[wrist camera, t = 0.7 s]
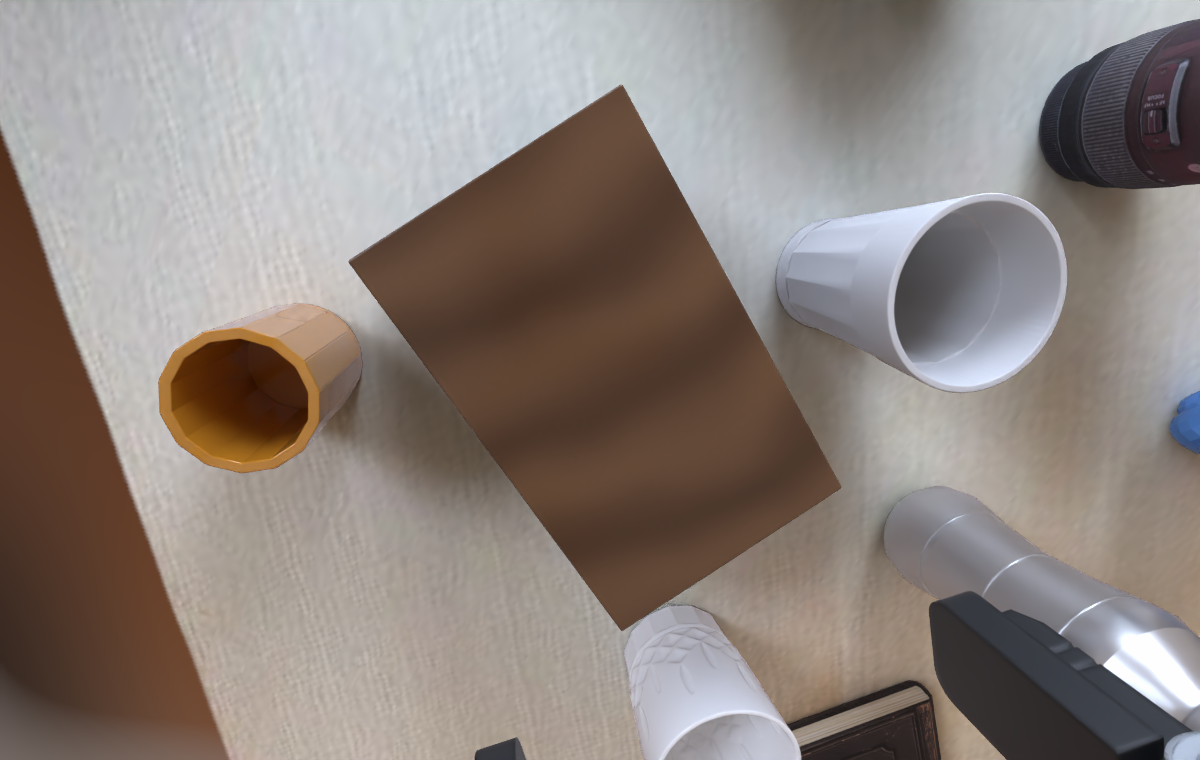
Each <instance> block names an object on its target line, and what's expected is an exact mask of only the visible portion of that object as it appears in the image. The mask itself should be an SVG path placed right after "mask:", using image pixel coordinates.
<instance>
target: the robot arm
mask: <svg viewBox="0 0 1200 760" xmlns="http://www.w3.org/2000/svg"><path fill="white" fill-rule="evenodd" d="M929 617H930V627H931V637H932V647H933V656H934V666H935V671H936V674H937V677H938V680H939V682H940V684H941V686H942V688H943V690H944V692H945V693H946V695H947V696H948V698H949V699H950V700H951V702H952V703H953V704H954V705H955V706H956V707H957V708H958V709H959V710H960V711H961V712H962V713H963V714H964V715H965V717H966V718H967V719H968V720H969V721H970V722H971V723H972V724H973V725H974V726H975V727H976V728H977V729H978V730H979V731H980V732H981V733H982V734H983V735H984V736H985V737H986V739H987V740H988V741H989V742H990V743H991V744H992V745H993V746H994V747H995V748H996V749H997V750H998V751H999V752H1000V753H1001V754H1002V755H1003V756H1004V757H1005V758H1006V759H1007V760H1200V732H1194V731H1193V730H1191V729H1190V728H1188V727H1187V726H1185V725H1184V724H1182V723H1181V722H1180V721H1178V720H1177V719H1176V718H1174V717H1173V716H1171V715H1170V714H1169V713H1167V712H1166V711H1165V710H1163V709H1162V708H1160V707H1159V706H1158V705H1156V704H1155V703H1154V702H1152V701H1151V700H1149V699H1148V698H1147V697H1145V696H1144V695H1143V694H1141V693H1140V692H1138V691H1137V690H1136V689H1134V688H1133V687H1132V686H1130V685H1129V684H1127V683H1126V682H1125V681H1123V680H1122V679H1121V678H1119V677H1118V676H1116V675H1115V674H1114V673H1112V672H1111V671H1110V670H1108V669H1107V668H1105V667H1104V666H1103V665H1101V664H1097V663H1096V662H1095V660H1094V659H1093V658H1092V657H1090V656H1089V655H1088V654H1086V653H1085V652H1083V651H1082V650H1081V649H1079V648H1078V647H1073V645H1072V643H1071V642H1070V641H1068V640H1067V639H1066V638H1064V637H1063V636H1061V635H1060V634H1059V633H1057V632H1056V631H1055V630H1053V629H1052V628H1050V627H1049V626H1048V625H1046V624H1045V623H1043V622H1041V621H1038V620H1036V619H1033V618H1031V617H1028V616H1026V615H1024V614H1021V613H1019V612H1016V611H1014V610H1011V609H1010V610H1007V611H1004V612H1001V611H999V610H998V609H997V608H996V607H994V606H993V605H992V604H990V603H989V602H988V601H986V600H985V599H984V598H983V597H981V596H980V595H978V594H977V593H975V592H973V591H966V592H963V593H960V594H957V595H954V596H951V597H948V598H945V599H941V600H938V601H935V602H933V603H931V604H930V607H929ZM475 760H526V758H525V755H524V752H523V749H522V746H521V744H520V741H519V739H518V738H517V737H516V738H513V739H510V740H507V741H504V742H501V743H498V744H495V745H492V746H489V747H486V748H483V749H480V750H477V751H476V753H475Z"/></svg>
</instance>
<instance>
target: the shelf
mask: <svg viewBox="0 0 1200 760" xmlns="http://www.w3.org/2000/svg"><path fill="white" fill-rule="evenodd" d="M349 264H350V265H351V266H352V268H353V269H354V270H355V272H356V273H357V274H358V276H359V277H360V279H361V280H362V281H363V283H364V284H365V285H366V287H367V288H368V289H369V291H370V292H371V293H372V295H373V296H374V297H375V299H376V300H377V301H378V303H379V304H380V306H381V307H382V308H383V310H384V311H385V312H386V314H387V315H388V316H389V318H390V319H391V320H392V322H393V323H394V324H395V326H396V327H397V328H398V330H399V331H400V333H401V334H402V335H403V337H404V338H405V339H406V341H407V342H408V343H409V345H410V346H411V347H412V349H413V350H414V351H415V353H416V354H417V356H418V357H419V358H420V360H421V361H422V362H423V364H424V365H425V366H426V368H427V369H428V370H429V372H430V373H431V374H432V376H433V377H434V378H435V380H436V381H437V383H438V384H439V385H440V387H441V388H442V389H443V391H444V392H445V393H446V395H447V396H448V397H449V399H450V400H451V401H452V403H453V404H454V406H455V407H456V408H457V410H458V411H459V412H460V414H461V415H462V416H463V418H464V419H465V420H466V422H467V423H468V424H469V426H470V427H471V428H472V430H473V431H474V433H475V434H476V435H477V437H478V438H479V439H480V441H481V442H482V443H483V445H484V446H485V447H486V449H487V450H488V451H489V453H490V454H491V456H492V457H493V458H494V460H495V461H496V462H497V464H498V465H499V466H500V468H501V469H502V470H503V472H504V473H505V474H506V476H507V477H508V478H509V480H510V481H511V483H512V484H513V485H514V487H515V488H516V489H517V491H518V492H519V493H520V495H521V496H522V497H523V499H524V500H525V501H526V503H527V504H528V506H529V507H530V508H531V510H532V511H533V512H534V514H535V515H536V516H537V518H538V519H539V520H540V522H541V523H542V524H543V526H544V527H545V528H546V530H547V531H548V533H549V534H550V535H551V537H552V538H553V539H554V541H555V542H556V543H557V545H558V546H559V547H560V549H561V550H562V551H563V553H564V554H565V556H566V557H567V558H568V560H569V561H570V562H571V564H572V565H573V566H574V568H575V569H576V570H577V572H578V573H579V574H580V576H581V577H582V578H583V580H584V581H585V583H586V584H587V585H588V587H589V588H590V589H591V591H592V592H593V593H594V595H595V596H596V597H597V599H598V600H599V601H600V603H601V604H602V606H603V607H604V608H605V610H606V611H607V612H608V614H609V615H610V616H611V618H612V619H613V620H614V622H615V623H616V624H617V626H618V627H619V628H620V630H621V631H623V630H625V629H626V628H628V627H629V626H631V625H632V624H634V623H635V622H637V621H638V620H640V619H642V618H643V617H645V616H646V615H648V614H649V613H651V612H652V611H654V610H655V609H657V608H658V607H660V606H661V605H663V604H665V603H666V602H668V601H669V600H671V599H672V598H674V597H675V596H677V595H678V594H680V593H681V592H683V591H684V590H686V589H688V588H689V587H691V586H692V585H694V584H695V583H697V582H698V581H700V580H701V579H703V578H704V577H706V576H707V575H709V574H711V573H712V572H714V571H715V570H717V569H718V568H720V567H721V566H723V565H724V564H726V563H727V562H729V561H730V560H732V559H734V558H735V557H737V556H738V555H740V554H741V553H743V552H744V551H746V550H747V549H749V548H750V547H752V546H753V545H755V544H757V543H758V542H760V541H761V540H763V539H764V538H766V537H767V536H769V535H770V534H772V533H773V532H775V531H776V530H778V529H779V528H781V527H783V526H784V525H786V524H787V523H789V522H790V521H792V520H793V519H795V518H796V517H798V516H799V515H801V514H802V513H804V512H806V511H807V510H809V509H810V508H812V507H813V506H815V505H816V504H818V503H819V502H821V501H822V500H824V499H825V498H827V497H829V496H830V495H832V494H833V493H835V492H836V491H838V490H839V489H841V485H840V483H839V482H838V480H837V478H836V476H835V474H834V472H833V471H832V469H831V467H830V465H829V463H828V461H827V460H826V458H825V456H824V454H823V452H822V450H821V449H820V447H819V445H818V443H817V441H816V439H815V438H814V436H813V434H812V432H811V430H810V428H809V426H808V425H807V423H806V421H805V419H804V417H803V415H802V414H801V412H800V410H799V408H798V406H797V404H796V403H795V401H794V399H793V397H792V395H791V393H790V392H789V390H788V388H787V386H786V384H785V382H784V381H783V379H782V377H781V375H780V373H779V371H778V370H777V368H776V366H775V364H774V362H773V360H772V358H771V357H770V355H769V353H768V351H767V349H766V347H765V346H764V344H763V342H762V340H761V338H760V336H759V335H758V333H757V331H756V329H755V327H754V325H753V324H752V322H751V320H750V318H749V316H748V314H747V313H746V311H745V309H744V307H743V305H742V303H741V302H740V300H739V298H738V296H737V294H736V292H735V290H734V289H733V287H732V285H731V283H730V281H729V279H728V278H727V276H726V274H725V272H724V270H723V268H722V267H721V265H720V263H719V261H718V259H717V257H716V256H715V254H714V252H713V250H712V248H711V246H710V245H709V243H708V241H707V239H706V237H705V235H704V234H703V232H702V230H701V228H700V226H699V224H698V223H697V221H696V219H695V217H694V215H693V213H692V211H691V210H690V208H689V206H688V204H687V202H686V200H685V199H684V197H683V195H682V193H681V191H680V189H679V188H678V186H677V184H676V182H675V180H674V178H673V177H672V175H671V173H670V171H669V169H668V167H667V166H666V164H665V162H664V160H663V158H662V156H661V155H660V153H659V151H658V149H657V147H656V145H655V143H654V142H653V140H652V138H651V136H650V134H649V132H648V131H647V129H646V127H645V125H644V123H643V121H642V120H641V118H640V116H639V114H638V112H637V110H636V109H635V107H634V105H633V103H632V101H631V99H630V98H629V96H628V94H627V92H626V90H625V88H624V87H623V85H619V86H618V87H616V88H615V89H613V90H612V91H610V92H608V93H607V94H605V95H604V96H602V97H601V98H599V99H598V100H596V101H595V102H593V103H591V104H590V105H588V106H587V107H585V108H584V109H582V110H581V111H579V112H578V113H576V114H574V115H573V116H571V117H570V118H568V119H567V120H565V121H564V122H562V123H561V124H559V125H557V126H556V127H554V128H553V129H551V130H550V131H548V132H547V133H545V134H544V135H542V136H540V137H539V138H537V139H536V140H534V141H533V142H531V143H530V144H528V145H527V146H525V147H523V148H522V149H520V150H519V151H517V152H516V153H514V154H513V155H511V156H510V157H508V158H506V159H505V160H503V161H502V162H500V163H499V164H497V165H496V166H494V167H493V168H491V169H489V170H488V171H486V172H485V173H483V174H482V175H480V176H479V177H477V178H476V179H474V180H472V181H471V182H469V183H468V184H466V185H465V186H463V187H462V188H460V189H458V190H457V191H455V192H454V193H452V194H451V195H449V196H448V197H446V198H445V199H443V200H441V201H440V202H438V203H437V204H435V205H434V206H432V207H431V208H429V209H428V210H426V211H424V212H423V213H421V214H420V215H418V216H417V217H415V218H414V219H412V220H411V221H409V222H407V223H406V224H404V225H403V226H401V227H400V228H398V229H397V230H395V231H394V232H392V233H390V234H389V235H387V236H386V237H384V238H383V239H381V240H380V241H378V242H377V243H375V244H373V245H372V246H370V247H369V248H367V249H366V250H364V251H363V252H361V253H360V254H358V255H356V256H355V257H353V258H352V259H350V260H349Z"/></svg>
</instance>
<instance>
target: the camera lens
mask: <svg viewBox="0 0 1200 760" xmlns="http://www.w3.org/2000/svg"><path fill="white" fill-rule="evenodd" d="M1040 141H1041V147H1042V151H1043V153H1044V155H1045V158H1046V160H1047V162H1048V163H1049V165H1050V166H1051V167H1052V168H1053V169H1054V170H1055V171H1056V172H1057V173H1058V174H1060V175H1061V176H1063V177H1064V178H1067V179H1070V180H1073V181H1080V182H1086V183H1088V184H1091V185H1094V186H1097V187H1104V188H1126V189H1143V188H1163V187H1176V186H1181V185H1191V184H1200V19H1198V20H1192V21H1187V22H1183V23H1180V24H1176V25H1173V26H1169V27H1166V28H1162V29H1159V30H1155V31H1152V32H1148V33H1145V34H1143V35H1140V36H1138V37H1136V38H1133V39H1131V40H1129V41H1127V42H1124V43H1121V44H1118V45H1115V46H1112V47H1110V48H1107V49H1105V50H1103V51H1102V52H1100V53H1098V54H1097V55H1095V56H1094V57H1093V58H1092V59H1090V60H1089V61H1088V62H1085V63H1083V64H1080V65H1078V66H1077V67H1075V68H1074V69H1072V70H1071V71H1069V72H1068V73H1067V74H1066V75H1065V76H1064V77H1063V78H1062V79H1061V80H1060V81H1059V82H1058V83H1057V84H1056V86H1055V87H1054V89H1053V90H1052V92H1051V93H1050V95H1049V97H1048V99H1047V101H1046V103H1045V106H1044V109H1043V112H1042V116H1041V122H1040Z"/></svg>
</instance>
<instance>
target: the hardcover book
mask: <svg viewBox="0 0 1200 760" xmlns="http://www.w3.org/2000/svg"><path fill="white" fill-rule="evenodd" d="M788 727H789V728H790V730H791V731H792V733H793V734H794V736H795V738H796V740H797V742H798V744H799V748H800V752H801V760H941V755H940V748H939V741H938V734H937V727H936V721H935V714H934V707H933V700H932V695H931V694H930V693H929V691H928V690H927V689H926V688H925V687H924V686H923V685H922V684H920V683H918V682H915V681H906V682H904V683H901V684H898V685H895V686H893V687H890V688H887V689H884V690H882V691H879V692H876V693H873V694H871V695H868V696H865V697H863V698H860V699H857V700H854V701H852V702H849V703H846V704H843V705H841V706H838V707H835V708H832V709H830V710H827V711H824V712H821V713H819V714H816V715H813V716H811V717H808V718H805V719H802V720H800V721H797V722H794V723H791V724H789V725H788Z"/></svg>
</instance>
